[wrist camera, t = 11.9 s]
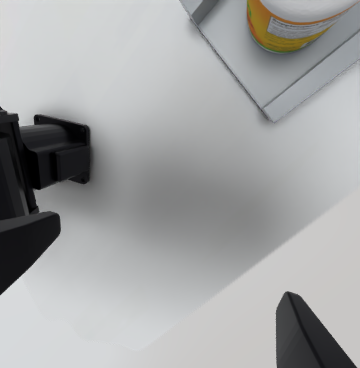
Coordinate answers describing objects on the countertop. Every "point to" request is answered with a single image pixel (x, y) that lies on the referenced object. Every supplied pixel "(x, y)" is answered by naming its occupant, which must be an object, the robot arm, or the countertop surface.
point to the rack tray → (275, 54)
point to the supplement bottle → (292, 21)
